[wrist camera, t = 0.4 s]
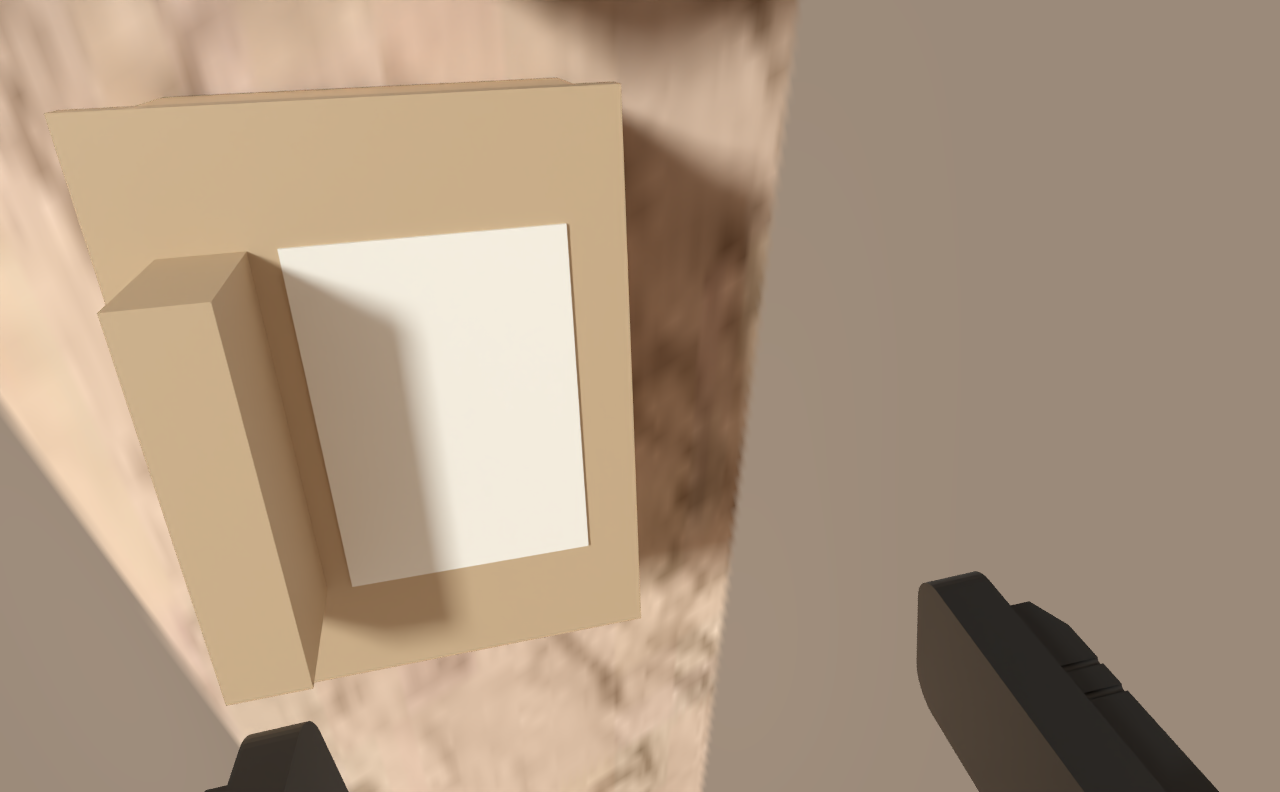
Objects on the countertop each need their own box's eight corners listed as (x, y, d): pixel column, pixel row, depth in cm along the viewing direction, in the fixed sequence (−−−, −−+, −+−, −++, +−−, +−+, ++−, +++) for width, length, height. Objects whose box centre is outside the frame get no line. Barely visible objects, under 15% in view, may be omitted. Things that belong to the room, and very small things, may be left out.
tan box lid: (58, 110, 18) (-49, 137, 14) (613, 81, 21) (666, 96, 17) (237, 679, 25) (202, 813, 21) (635, 603, 28) (676, 707, 24)
